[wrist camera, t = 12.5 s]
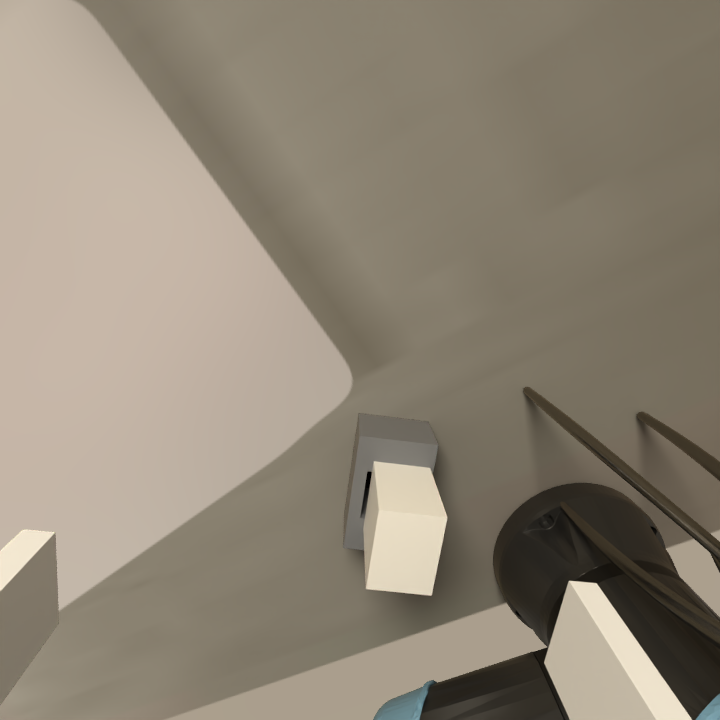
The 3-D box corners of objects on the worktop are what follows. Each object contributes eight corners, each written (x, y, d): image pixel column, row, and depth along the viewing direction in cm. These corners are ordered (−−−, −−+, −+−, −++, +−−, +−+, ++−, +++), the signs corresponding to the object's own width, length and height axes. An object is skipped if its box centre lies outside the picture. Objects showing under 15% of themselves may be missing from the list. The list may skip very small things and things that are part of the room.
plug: (421, 442, 43) (447, 517, 31) (410, 503, 44) (431, 595, 33) (371, 436, 42) (378, 510, 31) (361, 497, 44) (365, 588, 32)
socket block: (428, 421, 42) (438, 445, 38) (410, 521, 45) (417, 555, 40) (358, 413, 42) (359, 435, 37) (344, 514, 44) (343, 548, 40)
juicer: (550, 499, 44) (927, 982, 15) (521, 387, 42) (900, 694, 13) (655, 469, 43) (1268, 911, 14) (632, 354, 41) (1304, 596, 12)
